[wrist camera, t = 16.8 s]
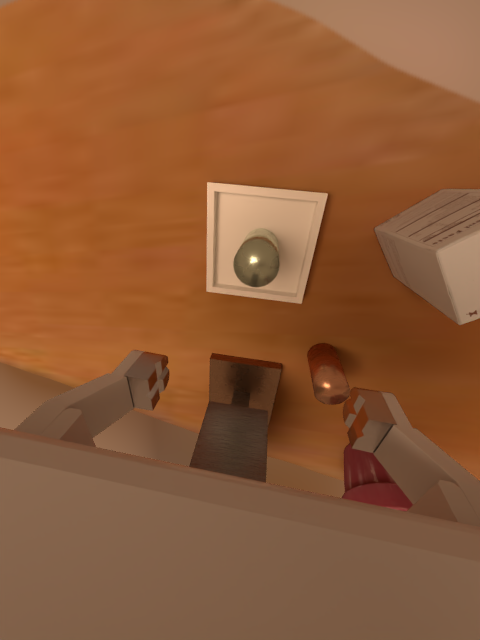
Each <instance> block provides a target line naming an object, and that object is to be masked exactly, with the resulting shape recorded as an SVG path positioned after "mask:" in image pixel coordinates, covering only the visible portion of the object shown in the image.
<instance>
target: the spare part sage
mask: <svg viewBox="0 0 480 640" xmlns="http://www.w3.org/2000/svg"><path fill="white" fill-rule="evenodd" d="M279 266H280V264H279V244H278V240H277V238H276V236H275V235H274V233H272V232H271V231H270V230H268V229H264V228H258V229H255V230H253V231H251V232H250V233H249V234H248V235H247V236H246V237H245V239H244V241H243V243H242V244H241V246H240V248H239V250H238V251H237V253H236V255H235V257H234V262H233V267H234V272H235V274H236V276H237V277H238V279H239V280H240V281H241V282H242V283H244V284H245V285H248V286H250V287H263V286H265V285H268V284H269V283H271V282H272V281H273V280H274V279H275V277H276V276H277V274H278V271H279Z"/></svg>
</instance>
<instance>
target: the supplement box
mask: <svg viewBox="0 0 480 640" xmlns="http://www.w3.org/2000/svg"><path fill="white" fill-rule="evenodd" d="M374 231H375V233H376V236H377V238H378V241H379V243H380V246H381V248H382V250H383V253H384V255H385V257H386V260H387V262H388V265H389V267H390V269H391V272H392V274H393V276H394V277H395V278H396V279H398V280H399V281H400V282H402V283H403V284H405V285H406V286H407V287H409V288H410V289H411V290H413V291H414V292H415V293H417V294H418V295H419V296H421V297H422V298H423V299H425V300H426V301H427V302H429V303H430V304H431V305H433V306H434V307H436V308H437V309H438V310H440V311H441V312H442V313H444V314H445V315H446V316H448V317H449V318H450V319H452V320H453V321H454V322H456V323H457V324H459V325H462V324H464V323H467V322H470V321H473V320H476V319H479V318H480V189H442V190H440V191H438V192H437V193H435V194H433V195H431V196H429V197H428V198H426V199H424V200H422V201H421V202H419V203H417V204H415V205H414V206H412V207H410V208H408V209H407V210H405V211H403V212H401V213H400V214H398V215H396V216H394V217H393V218H391V219H389V220H387V221H386V222H384V223H382V224H380V225H379V226H377V227H375V228H374Z"/></svg>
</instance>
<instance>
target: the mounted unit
mask: <svg viewBox="0 0 480 640" xmlns="http://www.w3.org/2000/svg"><path fill="white" fill-rule="evenodd" d="M281 370H282V367H281V363H274V362H268V361H261V360H254V359H248V358H241V357H234V356H227V355H221V354H214V353H212V355H211V357H210V384H209V404H208V407H207V410H206V413H205V417H204V420H203V423H202V426H201V430H200V433H199V436H198V440H197V443H196V446H195V449H194V453H193V456H192V459H191V463H190V466H189V467H193V468H198V469H203V470H208V471H213V472H217V473H222V474H227V475H232V476H237V477H242V478H246V479H251V480H256V481H261V482H266V470H267V430H268V427H269V422H270V418H271V414H272V409H273V405H274V400H275V396H276V392H277V387H278V383H279V379H280V374H281Z"/></svg>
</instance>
